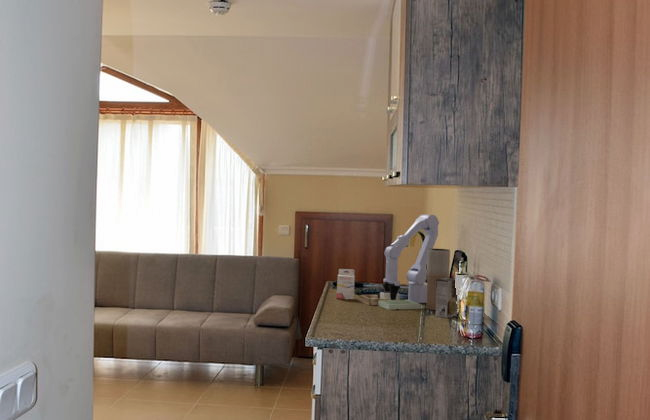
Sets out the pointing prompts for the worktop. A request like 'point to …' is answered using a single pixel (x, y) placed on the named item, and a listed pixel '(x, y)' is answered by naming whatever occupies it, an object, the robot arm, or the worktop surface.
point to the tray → (399, 304)
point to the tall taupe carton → (436, 273)
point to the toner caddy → (388, 296)
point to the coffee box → (446, 298)
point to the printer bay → (371, 299)
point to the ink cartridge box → (345, 284)
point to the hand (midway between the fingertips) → (390, 298)
